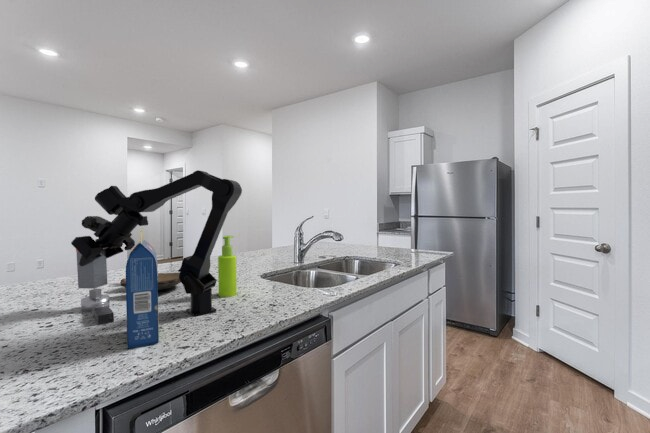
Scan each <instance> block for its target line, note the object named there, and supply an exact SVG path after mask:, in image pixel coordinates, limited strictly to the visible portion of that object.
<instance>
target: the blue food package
mask: <svg viewBox="0 0 650 433" xmlns="http://www.w3.org/2000/svg"><path fill="white" fill-rule="evenodd" d="M158 273H159V267H158V257H157V253H156V250H155V249H154V247H153V246H152V245H151V244H150V243H149V242H148V241H146V239H145V238H144V228H143V227H142V228H141V230H140V241H139V242H138V243H137V244H135V246H134V247H133V248H132V249H131V251H130V253H129V255H128V258H127V261H126V265H125V278H126V288H125V291H126V292H125V296H126V298H125V299H126V301H125V302H126V304H125V305H126V309H125V310H126V333H127V334H126V339H127V342H126V343H127V346H126V347H127V349H131V348H138V347H144V346H150V345H154V344H158V343H159V342H160V327H159V326H160V324H159V323H160V322H159V320H160V319H159V290H158Z"/></svg>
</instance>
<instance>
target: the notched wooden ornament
mask: <svg viewBox="0 0 650 433" xmlns="http://www.w3.org/2000/svg"><path fill="white" fill-rule="evenodd" d="M179 273H180V272H163V273H160V272H158V291H163V290H168V289H171V288H173V287H175V286H177V285H179V284H182V283H181V281H180V279H179ZM119 284H120V286H121V287H122V288H124V289H126V277H125V278H122V279H121V280H120V282H119Z"/></svg>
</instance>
